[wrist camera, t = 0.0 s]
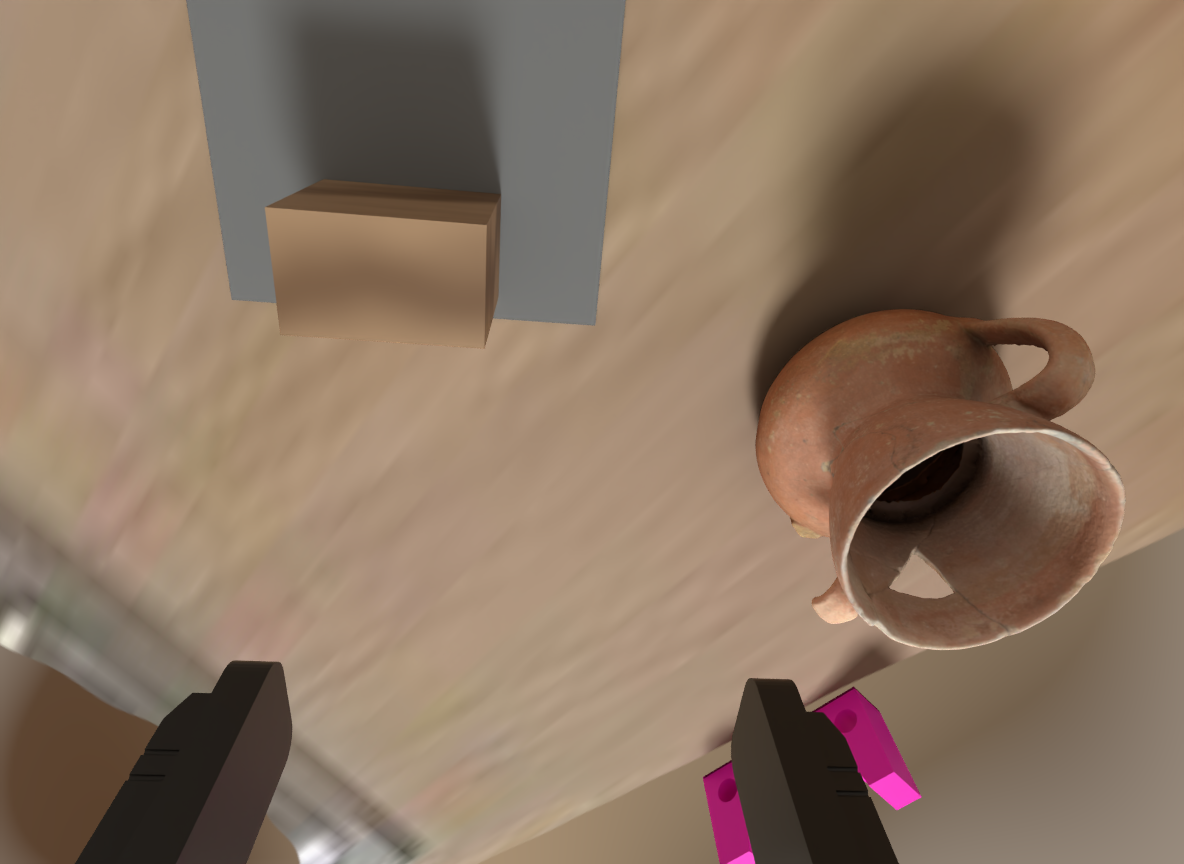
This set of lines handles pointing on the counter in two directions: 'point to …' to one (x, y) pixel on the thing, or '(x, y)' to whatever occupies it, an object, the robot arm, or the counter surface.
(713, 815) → the toy block
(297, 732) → the counter surface
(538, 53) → the grey mat
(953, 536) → the ceramic jug
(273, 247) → the walnut block
